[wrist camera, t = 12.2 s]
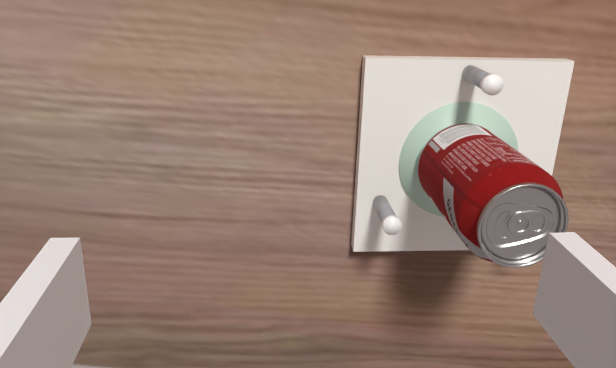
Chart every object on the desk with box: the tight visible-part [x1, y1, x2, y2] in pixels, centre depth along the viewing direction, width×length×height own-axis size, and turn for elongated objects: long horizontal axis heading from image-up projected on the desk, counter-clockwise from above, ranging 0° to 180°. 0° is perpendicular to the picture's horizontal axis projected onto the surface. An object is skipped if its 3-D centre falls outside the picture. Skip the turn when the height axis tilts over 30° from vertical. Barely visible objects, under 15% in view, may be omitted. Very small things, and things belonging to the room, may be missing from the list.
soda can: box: [418, 123, 568, 268], centre depth 39 cm, size 7×7×12 cm
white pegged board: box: [351, 56, 574, 252], centre depth 43 cm, size 16×16×6 cm
